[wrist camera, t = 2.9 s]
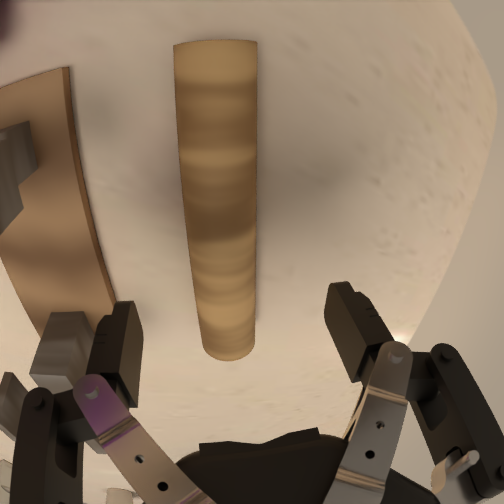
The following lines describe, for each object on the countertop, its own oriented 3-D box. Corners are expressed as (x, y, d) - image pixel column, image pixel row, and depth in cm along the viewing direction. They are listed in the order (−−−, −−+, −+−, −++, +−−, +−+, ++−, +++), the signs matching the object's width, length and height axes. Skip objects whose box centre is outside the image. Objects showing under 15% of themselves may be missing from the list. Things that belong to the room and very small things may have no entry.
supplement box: (29, 471, 45) (25, 516, 35) (20, 473, 47) (16, 514, 36) (2, 458, 41) (-4, 504, 31) (-4, 461, 43) (-10, 503, 33)
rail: (172, 48, 14) (174, 42, 11) (245, 45, 15) (267, 40, 12) (199, 326, 25) (206, 365, 22) (247, 318, 26) (260, 355, 23)
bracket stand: (-32, 102, 12) (-154, 164, 3) (68, 67, 13) (-65, 92, 4) (54, 349, 24) (29, 455, 15) (133, 347, 25) (124, 467, 16)
